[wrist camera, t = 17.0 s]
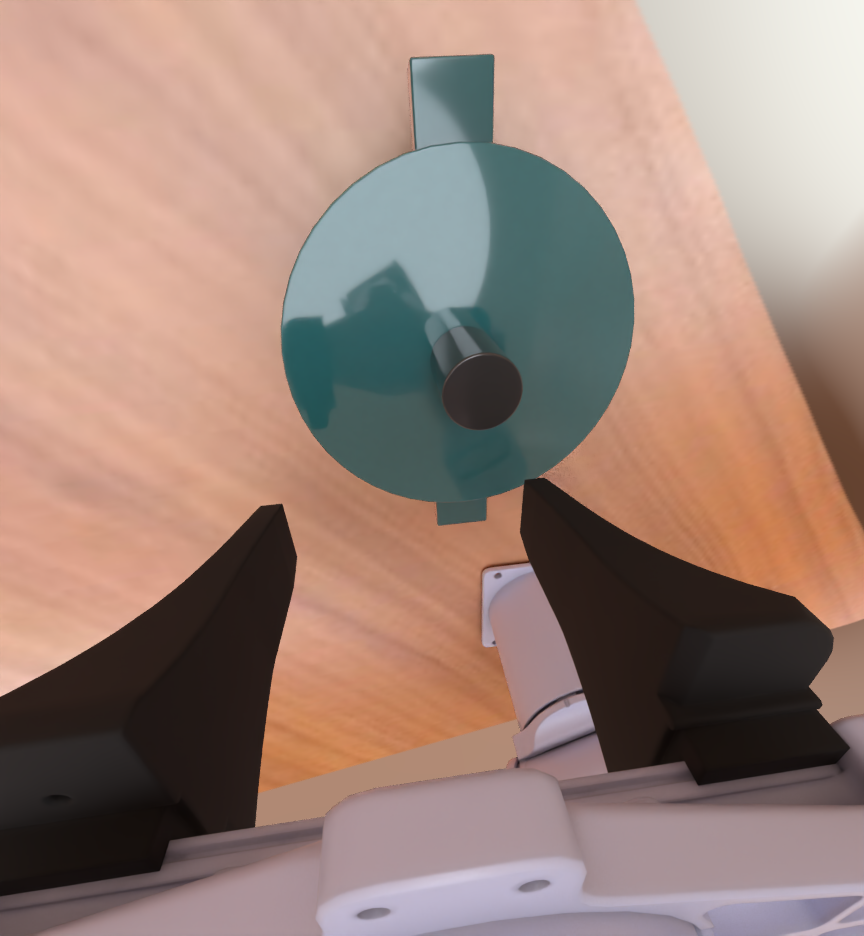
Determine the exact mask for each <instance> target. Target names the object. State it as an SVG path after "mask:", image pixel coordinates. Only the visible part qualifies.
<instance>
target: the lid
mask: <svg viewBox="0 0 864 936" xmlns="http://www.w3.org/2000/svg"><path fill="white" fill-rule="evenodd" d="M633 327H634V294H633V286H632V279H631V273H630V270H629V266H628V262H627V258H626V255H625V251H624V249H623V247H622V244H621V242H620V240H619V237H618V235H617V233H616V230H615V228H614V227H613V225H612V224H611V222H610V220H609V219H608V217H607V215H606V214H605V212H604V211H603V209H602V207H601V206H600V205H599V204H598V203H597V202H596V200H595V199H594V198H593V197H592V196H591V195H590V194H589V192H588V191H587V190H586V189H585V188H584V187H583V186H582V185H581V184H579V183H578V182H577V181H576V180H575V179H573V178H572V177H571V176H570V175H569V174H567V173H566V172H565V171H564V170H562V169H560V168H559V167H557V166H555V165H553V164H552V163H550V162H548V161H547V160H545V159H543V158H542V157H539V156H536V155H534V154H531V153H529V152H526V151H523V150H521V149H518V148H515V147H510V146H505V145H500V144H495V143H490V142H468V141H458V142H451V143H443V144H436V145H430V146H427V147H424V148H420V149H417V150H414V151H411V152H407V153H404V154H402V155H400V156H398V157H396V158H393V159H391V160H389V161H387V162H385V163H383V164H381V165H379V166H377V167H376V168H374V169H373V170H371V171H370V172H368V173H367V174H366V175H364V176H363V177H361V178H360V179H358V180H357V181H356V182H354V183H353V184H352V185H351V186H349V187H348V188H347V189H346V190H345V191H344V192H343V193H342V194H341V195H340V196H339V197H338V198H337V199H336V200H335V201H334V202H333V203H332V204H331V205H330V206H329V207H328V209H327V210H326V211H325V213H324V214H323V215H322V216H321V218H320V219H319V220H318V222H317V223H316V224H315V225H314V227H313V228H312V230H311V232H310V234H309V235H308V237H307V239H306V241H305V242H304V244H303V246H302V248H301V250H300V251H299V254H298V256H297V259H296V261H295V264H294V267H293V269H292V272H291V274H290V277H289V281H288V285H287V289H286V293H285V297H284V302H283V311H282V321H281V347H282V357H283V363H284V369H285V374H286V378H287V381H288V385H289V388H290V391H291V394H292V397H293V400H294V402H295V404H296V406H297V408H298V410H299V412H300V415H301V417H302V419H303V420H304V422H305V423H306V425H307V426H308V428H309V430H310V431H311V433H312V434H313V436H314V437H315V438H316V439H317V441H318V442H319V443H320V444H321V445H322V447H323V448H324V449H325V450H326V451H327V452H328V453H329V454H330V455H331V456H332V457H333V458H334V459H335V460H336V461H337V462H338V463H339V464H340V465H342V466H343V467H344V468H346V469H347V470H348V471H350V472H351V473H353V474H354V475H355V476H357V477H358V478H360V479H362V480H364V481H365V482H367V483H369V484H371V485H373V486H375V487H377V488H379V489H382V490H384V491H387V492H389V493H392V494H395V495H399V496H402V497H406V498H409V499H415V500H422V501H428V502H446V503H448V502H465V501H471V500H477V499H483V498H487V497H491V496H494V495H498V494H502V493H504V492H507V491H510V490H512V489H515V488H517V487H520V486H522V485H524V480H527V479H535V478H537V477H539V476H540V475H542V474H543V473H545V472H547V471H548V470H550V469H551V468H553V467H554V466H555V465H557V464H558V463H559V462H560V461H562V460H563V459H564V458H565V457H567V456H568V455H569V454H570V453H571V452H572V451H573V450H574V449H575V448H576V447H577V446H578V445H579V444H580V443H581V442H582V441H583V440H584V439H585V438H586V436H587V435H588V434H589V433H590V432H591V430H592V429H593V428H594V427H595V425H596V424H597V423H598V421H599V420H600V418H601V417H602V415H603V414H604V412H605V411H606V409H607V408H608V406H609V404H610V402H611V400H612V398H613V396H614V394H615V392H616V390H617V388H618V386H619V383H620V381H621V378H622V375H623V373H624V370H625V367H626V364H627V360H628V356H629V352H630V348H631V342H632V335H633Z"/></svg>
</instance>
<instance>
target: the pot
mask: <svg viewBox="0 0 864 936" xmlns="http://www.w3.org/2000/svg"><path fill="white" fill-rule="evenodd" d="M407 73H408V89H409V105H410V121H411V137H412V151H414V150H417V149H420V148H424V147H427V146H430V145H436V144H443V143H451V142H458V141H468V142H490V143H493V112H494V55H493V54H480V55H454V56H429V57H411V58H410V60H409V64H408V68H407ZM435 515H436V520H437V524H438V526H442V525H450V524H459V523H467V522H476V521H485V520H486V519H487V498H483V499H477V500H471V501H465V502H448V503H446V502H435Z"/></svg>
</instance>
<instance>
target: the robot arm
mask: <svg viewBox="0 0 864 936" xmlns="http://www.w3.org/2000/svg"><path fill="white" fill-rule="evenodd" d="M520 534H521V537H522V540H523V544H524V547H525V550H526V553H527V556H528V559H529V562H530V563H524V564H515V565H507V566H499V567H491V568H487V569H485V570H484V571H483V573H482V635H481V641H482V644H483V646H484V647H494V646H497V649H498V652H499V656H500V659H501V663H502V667H503V670H504V674H505V677H506V681H507V685H508V688H509V692H510V695H511V699H512V702H513V706H514V710H515V713H516V717H517V720H518V724H519V728H520V731H521V732H519V733H517V734H515V735H513V741H514V745H515V749H516V752H517V756H518V757H516V758H513V759H511V760H510V761H509V762H508V764H507V767H506V768H505V769H499V770H492V771H485V772H479V773H472V774H465V775H459V776H453V777H446V778H439V779H433V780H425V781H419V782H412V783H406V784H400V785H393V786H385V787H379V788H374V789H370V790H367V791H364V792H360V793H356V794H353V795H349V796H348V797H346V798H345V799H343V800H342V801H341V802H339V803H338V804H336V805H335V806H333V807H332V808H331V809H330V810H329V811H328V812H327V813H326V816H325V817H319V818H313V819H306V820H300V821H293V822H287V823H280V824H274V825H267V826H261V827H255V821H256V809H257V796H258V786H259V776H260V767H261V757H262V748H263V739H264V731H265V724H266V716H267V708H268V701H269V694H270V687H271V680H272V674H273V669H274V664H275V659H276V655H277V651H278V647H279V643H280V639H281V636H282V632H283V628H284V624H285V620H286V616H287V612H288V608H289V604H290V600H291V596H292V592H293V588H294V580H295V572H296V562H297V555H296V551H295V547H294V544H293V540H292V537H291V533H290V530H289V526H288V522H287V519H286V515H285V512H284V508H283V505H282V504H276V505H266V506H260V507H259V508H258V509H257V510H256V511H255V512H254V513H253V514H252V516H251V517H250V518H249V519H248V520H247V521H246V522H245V523H244V524H243V525H242V526H241V527H240V528H239V529H238V530H237V531H236V532H235V533H234V534H233V535H232V537H231V538H230V539H229V540H228V541H227V542H226V543H225V544H224V545H223V546H222V547H221V548H220V549H219V550H218V551H217V552H216V553H215V554H214V555H213V556H211V557H210V558H209V559H208V560H207V561H206V562H205V563H204V564H203V565H202V566H201V567H200V568H199V569H197V570H196V571H195V572H194V573H193V574H192V575H191V576H190V577H189V578H188V579H186V580H185V581H184V582H183V583H182V584H181V585H179V586H178V587H177V588H176V589H175V590H173V591H172V592H171V593H169V594H168V595H167V596H166V597H164V598H163V599H162V600H160V601H159V602H158V603H157V604H155V605H154V606H153V607H151V608H150V609H148V610H147V611H146V612H144V613H143V614H141V615H140V616H138V617H137V618H135V619H134V620H133V621H131V622H130V623H128V624H127V625H125V626H124V627H122V628H121V629H120V630H118V631H117V632H115V633H114V634H112V635H110V636H109V637H107V638H106V639H104V640H102V641H101V642H99V643H98V644H96V645H94V646H93V647H91V648H90V649H88V650H86V651H84V652H83V653H81V654H79V655H78V656H76V657H74V658H73V659H71V660H69V661H67V662H66V663H64V664H62V665H60V666H58V667H57V668H55V669H53V670H51V671H49V672H47V673H45V674H43V675H42V676H40V677H38V678H36V679H34V680H32V681H30V682H28V683H26V684H25V685H23V686H21V687H19V688H17V689H15V690H13V691H11V692H9V693H7V694H5V695H3V696H1V697H0V936H864V714H861V715H854V716H849V717H845V718H841V719H839V720H837V721H835V722H833V723H831V724H829V723H828V722H827V721H826V720H825V719H824V718H823V716H822V715H821V714H820V713H819V712H818V711H817V709H820V707H821V706H822V703H821V700H820V699H819V698H818V697H817V695H816V694H815V693H814V692H813V691H812V690H811V689H810V688H809V685H810V684H811V683H812V681H813V680H814V678H815V677H816V675H817V674H818V673H819V671H820V670H821V668H822V667H823V666H824V664H825V663H826V662H827V660H828V658H829V656H830V654H831V652H832V649H833V639H834V637H833V635H832V633H831V631H830V629H829V628H828V627H827V626H826V625H824V624H823V623H822V622H821V621H820V620H819V619H818V618H817V617H816V616H815V615H814V614H813V613H811V612H810V611H809V610H808V609H807V608H806V607H805V606H804V605H803V604H802V603H801V602H800V601H799V600H797V599H796V598H795V597H793V596H789V595H786V594H782V593H779V592H775V591H772V590H768V589H765V588H761V587H758V586H754V585H750V584H747V583H744V582H741V581H738V580H735V579H732V578H729V577H726V576H723V575H720V574H717V573H714V572H711V571H709V570H706V569H704V568H701V567H698V566H696V565H693V564H691V563H688V562H686V561H684V560H681V559H679V558H677V557H674V556H672V555H670V554H667V553H665V552H663V551H661V550H659V549H657V548H655V547H653V546H651V545H649V544H647V543H645V542H643V541H641V540H639V539H637V538H635V537H633V536H631V535H630V534H628V533H626V532H624V531H623V530H621V529H619V528H618V527H616V526H614V525H613V524H611V523H609V522H608V521H606V520H604V519H603V518H601V517H600V516H598V515H597V514H595V513H594V512H592V511H591V510H589V509H588V508H586V507H585V506H583V505H582V504H581V503H579V502H578V501H576V500H575V499H574V498H572V497H571V496H569V495H568V494H567V493H565V492H564V491H562V490H561V489H560V488H558V487H557V486H555V485H554V484H553V483H551V482H550V481H548V480H547V479H545V478H537V479H527V480H524V491H523V503H522V515H521V527H520ZM497 573H499V574H497ZM496 574H497V575H496Z"/></svg>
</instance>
